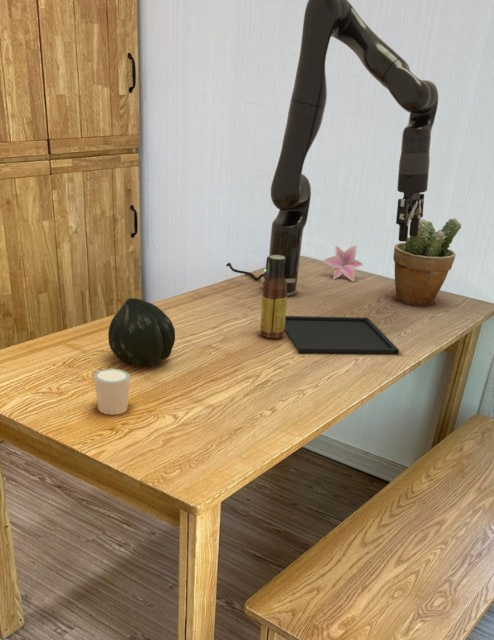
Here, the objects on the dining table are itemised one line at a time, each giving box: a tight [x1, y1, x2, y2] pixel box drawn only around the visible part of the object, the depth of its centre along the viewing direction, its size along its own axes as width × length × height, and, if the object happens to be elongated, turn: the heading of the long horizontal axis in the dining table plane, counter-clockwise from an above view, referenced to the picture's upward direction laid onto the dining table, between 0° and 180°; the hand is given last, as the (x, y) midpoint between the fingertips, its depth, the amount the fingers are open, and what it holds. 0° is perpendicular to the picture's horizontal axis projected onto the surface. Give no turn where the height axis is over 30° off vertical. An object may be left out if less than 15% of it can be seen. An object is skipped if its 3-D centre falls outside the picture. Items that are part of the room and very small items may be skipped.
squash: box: [107, 297, 176, 367], centre depth 155 cm, size 14×15×15 cm
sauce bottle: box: [260, 255, 288, 340], centre depth 174 cm, size 6×6×20 cm
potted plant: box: [392, 218, 462, 307], centre depth 211 cm, size 18×19×25 cm
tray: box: [284, 315, 400, 355], centre depth 183 cm, size 26×24×1 cm
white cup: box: [93, 368, 131, 416], centre depth 135 cm, size 7×7×7 cm
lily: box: [323, 244, 364, 282], centre depth 232 cm, size 12×12×10 cm
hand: (408, 238), depth 185 cm, fingers open, 8 cm apart
